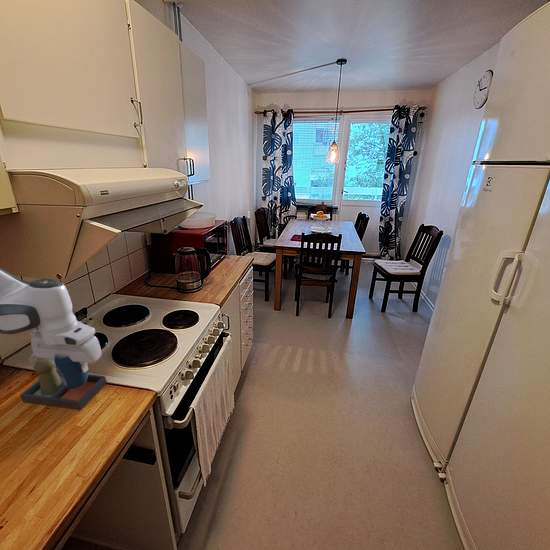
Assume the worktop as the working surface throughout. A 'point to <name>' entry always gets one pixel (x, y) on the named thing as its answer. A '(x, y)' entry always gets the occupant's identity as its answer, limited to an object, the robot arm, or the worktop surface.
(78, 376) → the soda can
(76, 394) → the sorting tray
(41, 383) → the olive green rounded piece
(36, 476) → the worktop surface
